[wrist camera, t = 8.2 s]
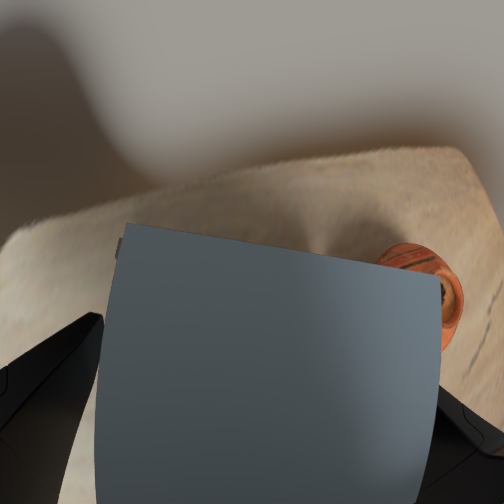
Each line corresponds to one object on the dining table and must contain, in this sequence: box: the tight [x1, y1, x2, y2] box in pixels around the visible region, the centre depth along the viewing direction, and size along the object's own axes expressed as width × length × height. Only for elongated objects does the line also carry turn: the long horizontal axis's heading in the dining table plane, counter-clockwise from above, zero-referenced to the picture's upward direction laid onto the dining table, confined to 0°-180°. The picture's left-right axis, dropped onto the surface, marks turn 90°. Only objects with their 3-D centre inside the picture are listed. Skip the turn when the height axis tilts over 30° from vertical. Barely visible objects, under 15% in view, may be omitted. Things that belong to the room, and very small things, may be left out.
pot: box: [376, 243, 464, 352], centre depth 16 cm, size 8×8×7 cm
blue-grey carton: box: [94, 223, 442, 504], centre depth 10 cm, size 5×6×12 cm
